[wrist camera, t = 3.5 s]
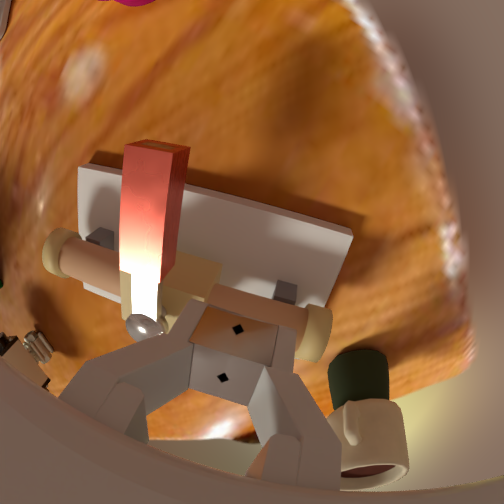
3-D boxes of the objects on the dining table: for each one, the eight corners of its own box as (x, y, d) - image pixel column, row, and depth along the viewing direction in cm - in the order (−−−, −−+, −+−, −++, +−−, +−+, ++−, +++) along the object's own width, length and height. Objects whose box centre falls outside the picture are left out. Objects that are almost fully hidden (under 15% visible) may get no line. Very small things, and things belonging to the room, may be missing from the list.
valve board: (88, 163, 23) (21, 189, 16) (350, 228, 22) (369, 287, 15) (91, 281, 29) (46, 325, 22) (300, 348, 28) (293, 418, 21)
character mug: (307, 339, 27) (297, 464, 16) (379, 316, 25) (404, 443, 13) (339, 400, 31) (337, 500, 19) (397, 383, 28) (412, 485, 17)
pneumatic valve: (29, 309, 35) (-19, 357, 25) (70, 367, 39) (33, 418, 29) (17, 313, 37) (-27, 356, 26) (55, 367, 41) (20, 413, 30)
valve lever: (144, 139, 13) (122, 144, 12) (192, 147, 13) (175, 153, 11) (136, 324, 19) (123, 343, 17) (170, 337, 19) (159, 357, 17)
